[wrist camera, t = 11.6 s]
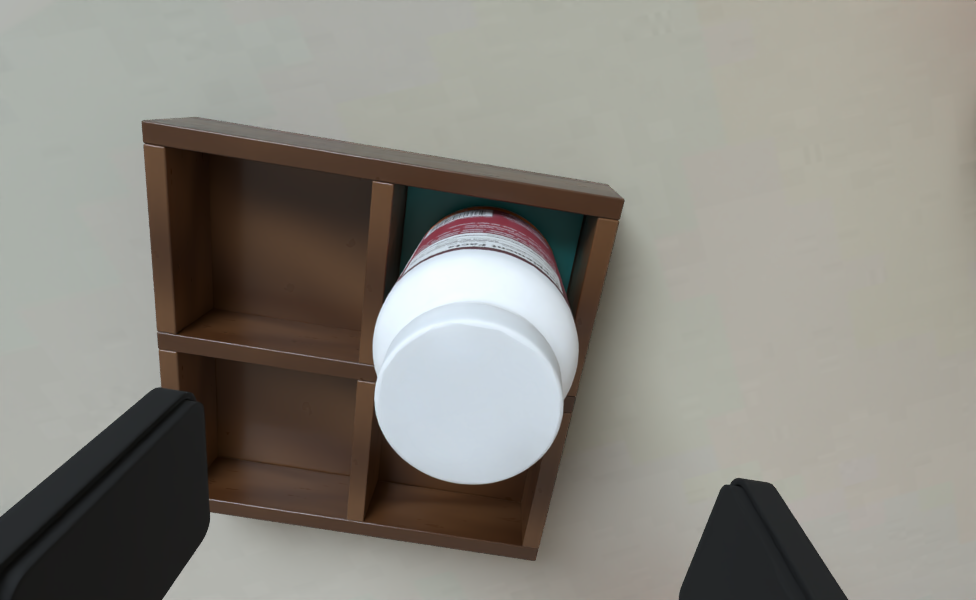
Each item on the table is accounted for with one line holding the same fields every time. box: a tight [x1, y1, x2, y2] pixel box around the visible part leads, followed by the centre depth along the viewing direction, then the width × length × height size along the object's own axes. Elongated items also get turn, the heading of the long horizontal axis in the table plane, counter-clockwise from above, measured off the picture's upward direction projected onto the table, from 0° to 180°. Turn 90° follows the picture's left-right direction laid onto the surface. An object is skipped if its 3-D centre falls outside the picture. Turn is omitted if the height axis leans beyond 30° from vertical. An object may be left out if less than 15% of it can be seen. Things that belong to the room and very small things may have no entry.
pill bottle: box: [373, 206, 579, 485], centre depth 18 cm, size 6×6×11 cm
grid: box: [142, 117, 624, 561], centre depth 24 cm, size 17×17×4 cm
